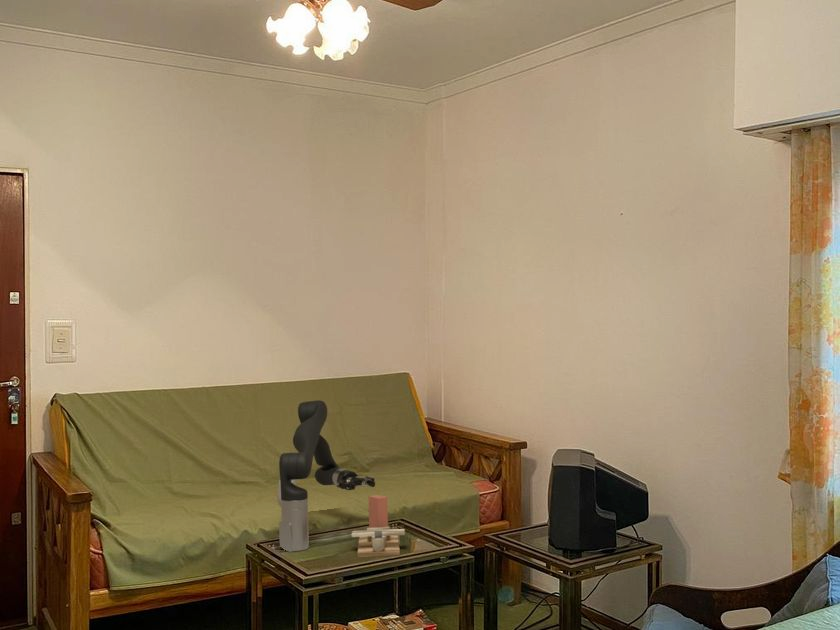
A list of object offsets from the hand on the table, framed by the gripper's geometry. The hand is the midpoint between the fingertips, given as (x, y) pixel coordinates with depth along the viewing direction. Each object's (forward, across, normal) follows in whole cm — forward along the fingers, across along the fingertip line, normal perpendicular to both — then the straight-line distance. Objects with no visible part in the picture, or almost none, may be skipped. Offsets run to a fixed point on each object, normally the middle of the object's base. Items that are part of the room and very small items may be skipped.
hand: (364, 485), depth 324 cm
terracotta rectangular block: (+11, 0, +16) cm, 20 cm away
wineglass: (-7, -28, +17) cm, 34 cm away
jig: (+29, -10, +16) cm, 35 cm away
